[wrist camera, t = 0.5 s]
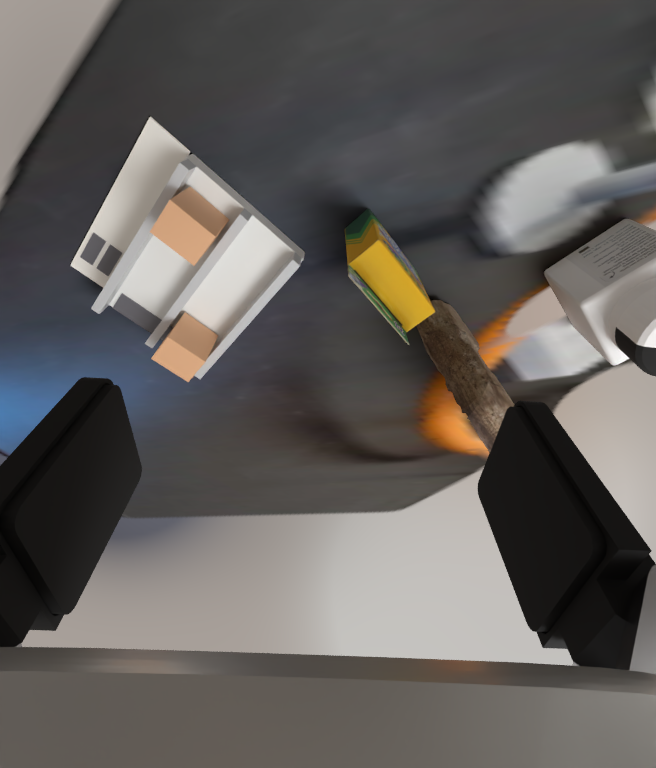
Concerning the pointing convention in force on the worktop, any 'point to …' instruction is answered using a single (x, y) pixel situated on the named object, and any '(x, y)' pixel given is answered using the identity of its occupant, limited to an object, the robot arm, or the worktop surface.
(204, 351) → the light orange block
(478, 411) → the mineral sample
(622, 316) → the container
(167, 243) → the tan rectangular block
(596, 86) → the worktop surface
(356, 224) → the crayon box
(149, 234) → the white divided tray
